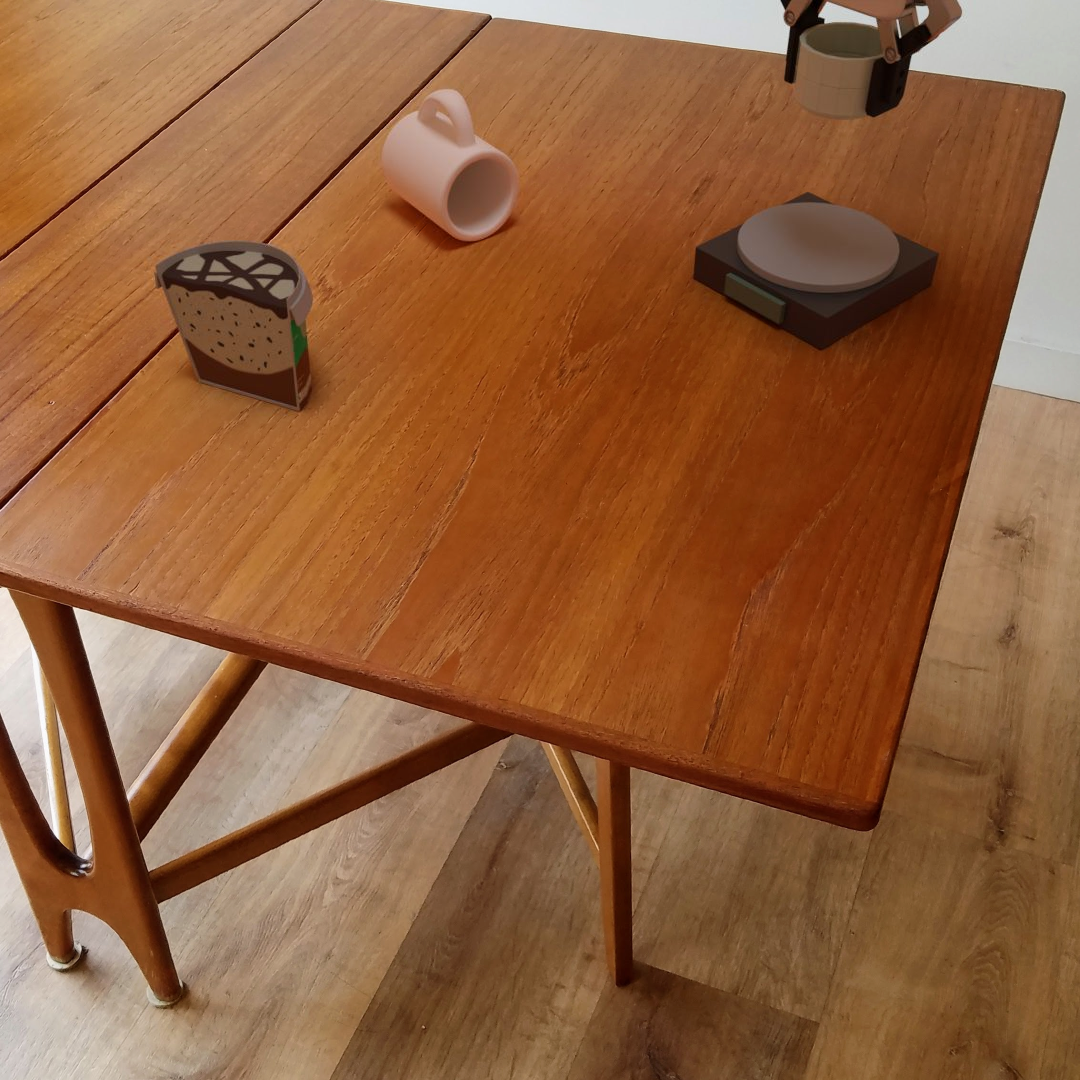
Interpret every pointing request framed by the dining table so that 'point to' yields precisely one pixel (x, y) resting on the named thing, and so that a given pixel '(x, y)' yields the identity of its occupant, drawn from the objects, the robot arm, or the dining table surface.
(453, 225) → the mug
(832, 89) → the bowl
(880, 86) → the robot arm
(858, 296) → the scale
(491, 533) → the dining table surface
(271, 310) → the food container
